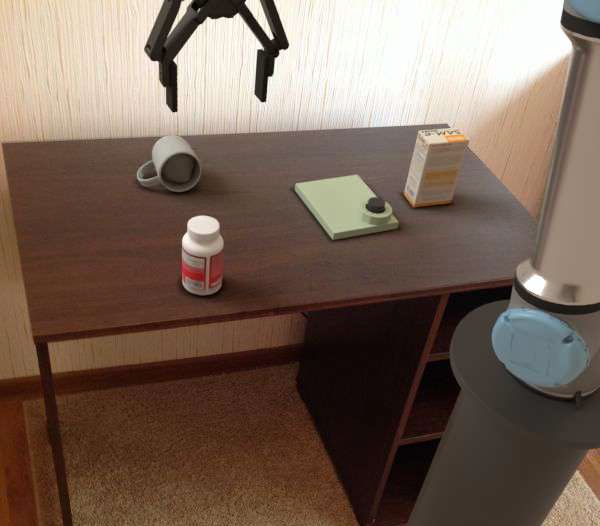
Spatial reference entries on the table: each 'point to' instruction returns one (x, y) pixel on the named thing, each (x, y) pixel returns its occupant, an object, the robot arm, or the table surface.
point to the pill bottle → (202, 256)
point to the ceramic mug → (172, 165)
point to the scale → (344, 206)
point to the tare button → (376, 205)
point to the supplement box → (435, 166)
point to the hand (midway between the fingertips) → (217, 103)
